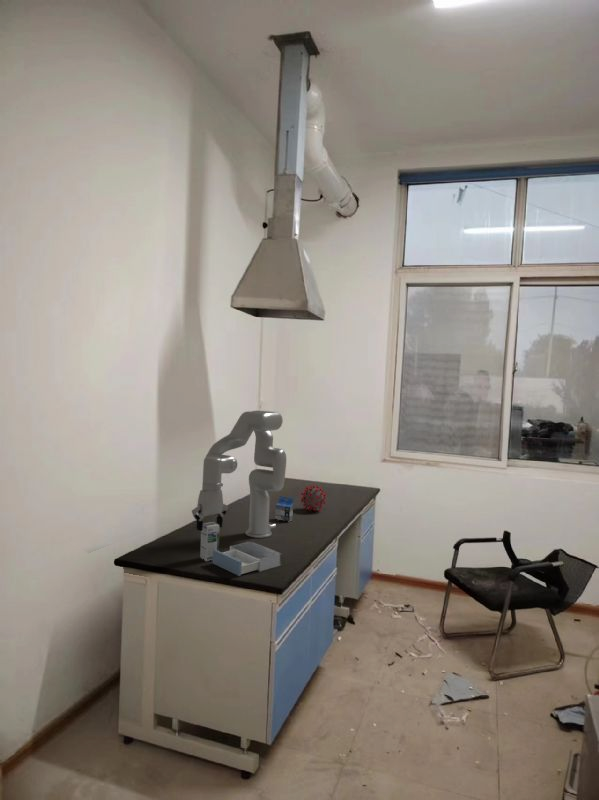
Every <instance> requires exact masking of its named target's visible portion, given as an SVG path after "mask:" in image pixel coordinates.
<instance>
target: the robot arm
mask: <svg viewBox="0 0 599 800" xmlns="http://www.w3.org/2000/svg"><path fill="white" fill-rule="evenodd" d="M282 424H283V416H282V415H281V413H279V412H278V411H270V410H269V411H268V410H252V411H251V410H249V411H244V412H243V413H241V415H240V416H239V418H238V419H237V420H236V423H235V424H234V426H233V428H232V429H231V430H230V433H229V434H227V435H225V436H224V437H222V438H220V439H218V440H217V441H216V442H215V443H213V445H212V446H211V447H210V448H209V450H208V452H207V454H206V456H205V457H204V458H203V468H202V487H201V488H202V489H201V490H200V491H199V494H198V498H197V506H195V507H194V508H193V509H191V514H192V516H193V518H194V519H195V520H196V530H197V531H200V532H201V531H202V529H203V523H204V521H203V519H204V517H207V516H208V517H209V516H214V515H217V516H216V522H215V523H217V524H219V528H223V518H225V515H226V514H227V512H228V509H229V506H228V505H227V504H226V503H224V498H223V490H222V487H223V486H224V484H223V483H222V474H231V473H234V472H235V471H236V470H237V469H238V460H237V459H236V458H235V457H234V456H232V455H229V454H228V455H227V454H224V453H227V452H228V451H231V450H235V449H239V448H242V447H243V446H246V445H247V442H248V441H249V439H250V438H251V436H252V434H253V432H254V435H255V443H254V452H253V453H254V455H253V462H254V464H255V465H256V466H259V467H263V468H255V469H252V470H251V471H250V472H249V475H248V485H249V513H248V515H249V519H248V529H246V531H245V535H246V536H248V537H251V538H258V539H264V538H269V537H270V536H272V534H273V533H272V529H275V528H276V527H277V525H276V523H273V524H272V523H271V524H270V505H271V504H270V502H271V500H270V494H269V492H268V491H270V492H280V491H282V490H283V488H284V486H285V480H286V471H287V470H286V469H287V454H286V452H285V450H284V449H283V448H279V447H278V448H277V447H274V446H273V445H274V444H273V443H274V435H273V433H272V431H277V430H279V429H280V428H281V427H282ZM265 468H271V469H272V470H271V469H270V470H269V469H265Z"/></svg>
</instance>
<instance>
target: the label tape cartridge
mask: <svg viewBox="0 0 599 800" xmlns="http://www.w3.org/2000/svg"><path fill="white" fill-rule="evenodd" d="M293 509H294V498H292V497H287V496H282V495H279V500H278V502H277V503H276V504H275V516H274V517H275V519H277V520H276V521H279V520H283V521H282V522H285V521H288V522H287V523H291V522H293V514H294V513H293V511H294V510H293ZM290 521H291V522H290Z"/></svg>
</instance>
